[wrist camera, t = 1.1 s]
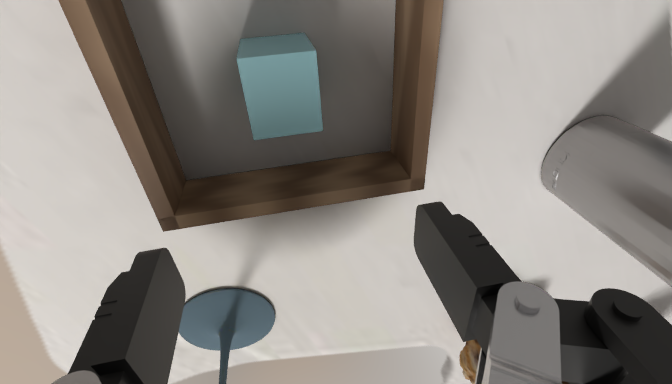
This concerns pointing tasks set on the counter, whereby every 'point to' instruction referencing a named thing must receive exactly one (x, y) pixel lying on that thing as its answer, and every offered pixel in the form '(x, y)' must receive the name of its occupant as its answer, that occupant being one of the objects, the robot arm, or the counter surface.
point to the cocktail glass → (226, 322)
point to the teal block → (280, 85)
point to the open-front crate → (266, 184)
